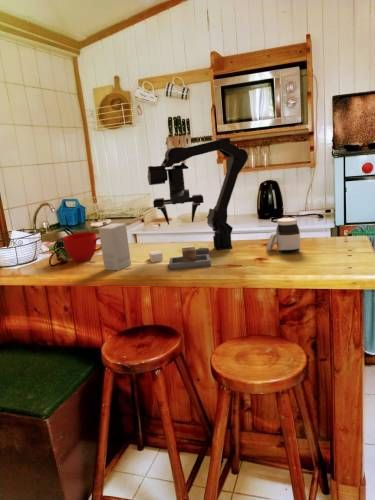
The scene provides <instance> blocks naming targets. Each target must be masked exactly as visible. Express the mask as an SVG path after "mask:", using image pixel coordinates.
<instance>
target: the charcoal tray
mask: <svg viewBox="0 0 375 500" xmlns="http://www.w3.org/2000/svg"><path fill="white" fill-rule="evenodd" d="M209 256H210V253H209V254H204V255H196V261H192V262H183V256H175V257H174V256H173V257H169V259H168V261H169V263H168V265H169V271H175V270H185V269H196V268H204V267H212V263H211V261H212V260H211V257H209Z"/></svg>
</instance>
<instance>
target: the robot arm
mask: <svg viewBox="0 0 375 500" xmlns="http://www.w3.org/2000/svg"><path fill="white" fill-rule="evenodd" d="M215 151H218V152H220V154H222V155H223V156H224V157H226V158H227V159H226V173H225V176H224V180H223V181H222V186H221V189H220V192H219V195H218V198H217V201H216V204H215V206H214V207H213V208H209V209H208V215H207V216H206V219H207V220H206V221H207V222H206V223H207V224H208V226H209V227H210V228H212V231H213V234H214V235H213V236H212V237H213V238H212V242H213V247H214V248H215V250H225V249H226V250H227V249H233V245H232V232H233V226H231V225H230V224H229V223H228V206H229V204H230V200H231V199H232V195H233V192H234V188H235V185H236V183H237V179H238V176H239V174H240V173H241V171H242V169H244V167H245V164H246V163H247V161H248V159H249V154H248V152H247V150H246V149H244V148H239V147H238V146H236V145H235V144H232V143H231V142H228V141H227V140H226V139H225V138H217V139H215V140H212V141H207V142H204V143H200V144H195V145H192V146H182V147H181V146H179V147H178V146H177V147H170V148H168V149H167V150H166V151H165V153H164V160H163V161H162V162H161V165H155V166H153V165H150V166H148V167H147V181H148V185H149V186H154V185H164V184H166V182H167V181H168V185H169V198H168V199H165V198H164V197H158V198H155V199H154V200H152V201H153V202H152V204H153V208H157V210H160V211H161V213H162V214H163V217H164V219H165V220H166V223H167V225H168V226H169V225H170V220H169V215H168V211H167V206H166V205H176V204H181V205H183V204H185V203H186V204H187V203H191V223H194V219H195V217H196V216H195V215H196V211H197V209H198V206H201V204H204V196H203V195H202V194H192V195H191V196H190V189H189V188H187V189H186V187H185V176H184V170H185V169H187V170H188V169H189V166H188V165H186V164H185V163H184V161H186V160H188V159H190V158H192V157H196V156H199V155H203V154H208V153H212V152H215ZM175 164H176V165H175Z"/></svg>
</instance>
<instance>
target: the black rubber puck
mask: <svg viewBox="0 0 375 500" xmlns="http://www.w3.org/2000/svg"><path fill="white" fill-rule="evenodd" d="M195 252H196V255H204V254H209V257H210V248H208V247H200V248H199V247H198V248H195ZM210 258H211V257H210Z"/></svg>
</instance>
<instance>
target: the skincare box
mask: <svg viewBox="0 0 375 500" xmlns="http://www.w3.org/2000/svg"><path fill="white" fill-rule="evenodd" d="M98 234H99V237H100V239H99V241H100V247H101V248H102V249H101V254H102V259H103V267H104V270H105V271H106V270H107V271H115V270H118V271H120V270H122V269H125V268H127V267H129V266H130V264H131V265H132V260H131V254H130V246H129V237H128V231H127V223H125V222H122V223H121V222H120V223H119V222H117V223H115V222H114V223H110V224H107V225H104V226H101V227H98Z"/></svg>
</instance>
